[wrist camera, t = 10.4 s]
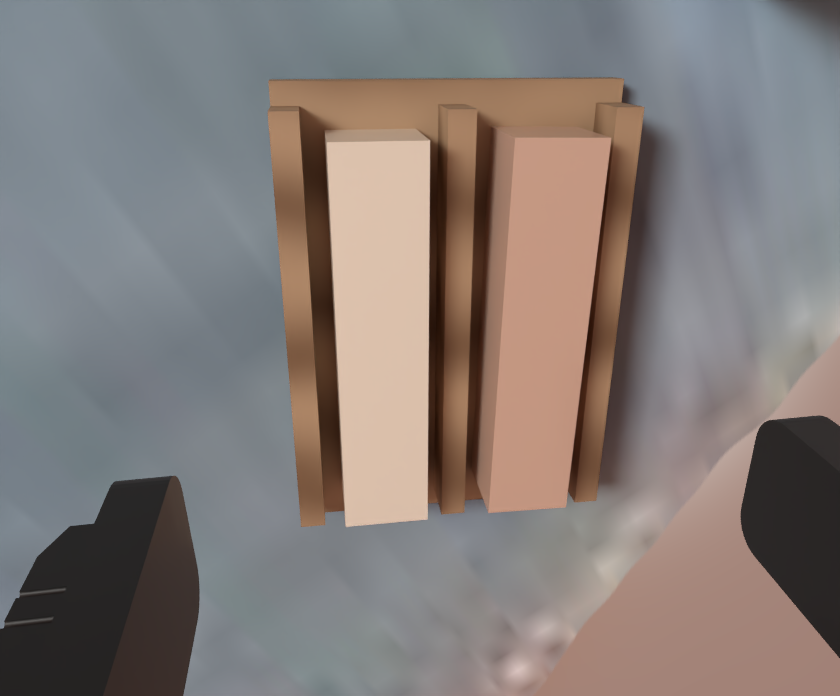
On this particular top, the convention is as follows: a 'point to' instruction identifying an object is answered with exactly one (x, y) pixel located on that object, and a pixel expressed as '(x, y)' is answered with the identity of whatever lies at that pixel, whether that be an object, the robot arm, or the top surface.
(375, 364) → the strip
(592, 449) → the rack
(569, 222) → the clay strip
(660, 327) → the top surface
